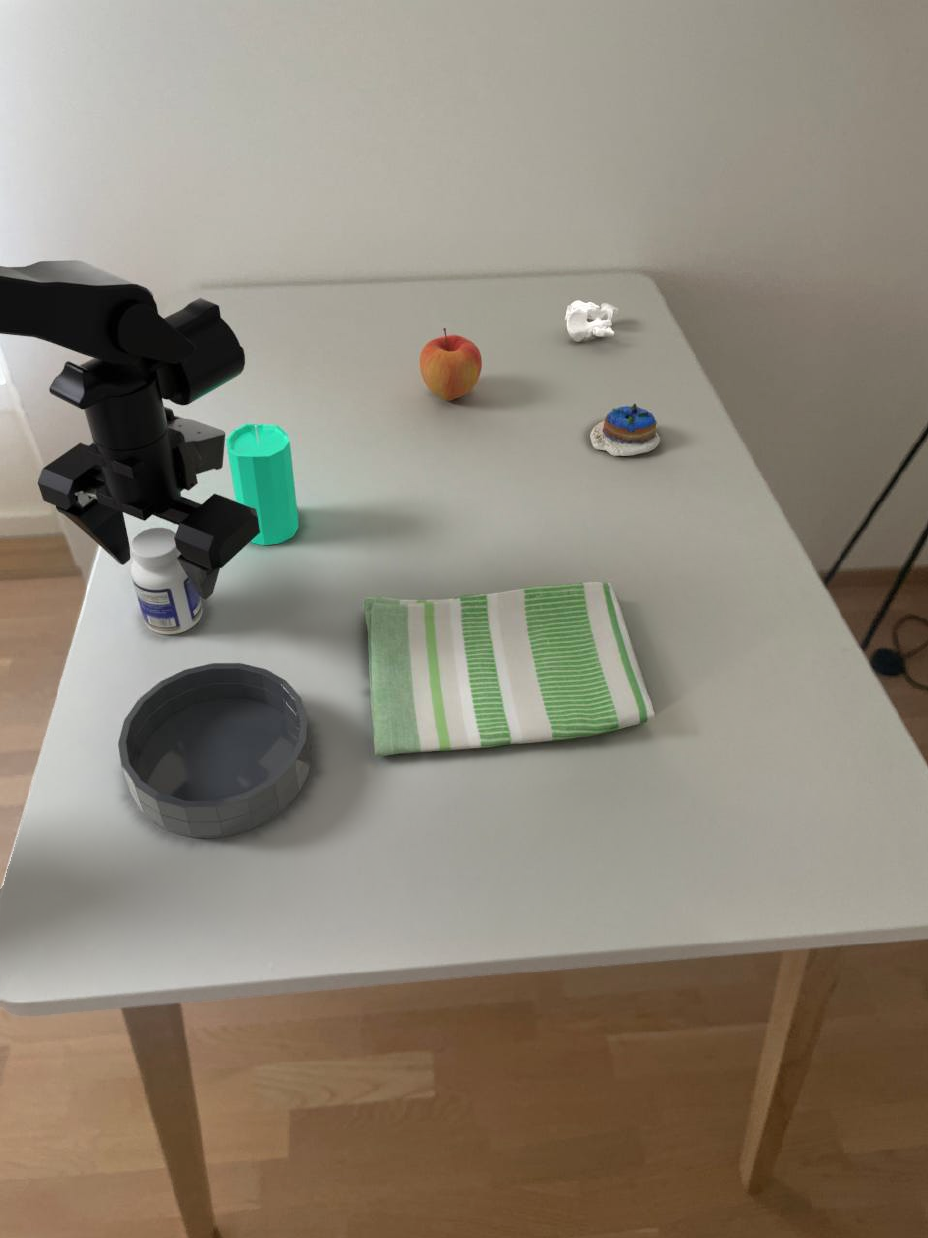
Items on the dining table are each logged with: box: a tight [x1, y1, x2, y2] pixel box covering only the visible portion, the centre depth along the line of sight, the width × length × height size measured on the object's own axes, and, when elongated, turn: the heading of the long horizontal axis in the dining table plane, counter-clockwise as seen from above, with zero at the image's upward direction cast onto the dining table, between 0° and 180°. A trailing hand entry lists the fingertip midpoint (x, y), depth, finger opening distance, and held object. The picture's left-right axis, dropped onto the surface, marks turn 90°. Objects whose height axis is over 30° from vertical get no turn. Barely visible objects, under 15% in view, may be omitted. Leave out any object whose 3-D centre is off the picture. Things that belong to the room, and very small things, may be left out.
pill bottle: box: [130, 527, 203, 635], centre depth 87 cm, size 5×5×9 cm
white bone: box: [564, 300, 620, 343], centre depth 129 cm, size 8×4×7 cm
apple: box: [419, 327, 483, 402], centre depth 115 cm, size 7×7×8 cm
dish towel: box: [363, 581, 656, 757], centre depth 85 cm, size 18×23×3 cm
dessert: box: [589, 402, 661, 457], centre depth 112 cm, size 8×7×6 cm
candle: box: [225, 423, 300, 546], centre depth 95 cm, size 6×6×12 cm
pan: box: [117, 662, 313, 839], centre depth 77 cm, size 14×14×4 cm
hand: (165, 578), depth 87 cm, fingers open, 9 cm apart
